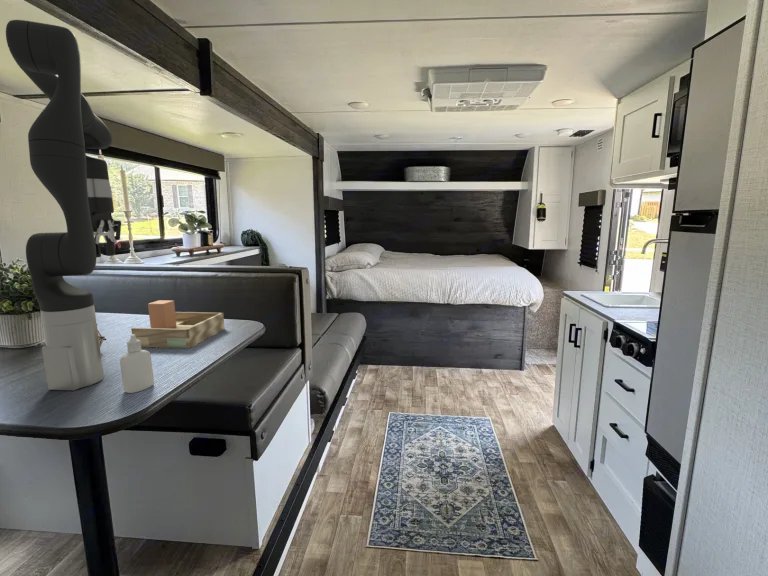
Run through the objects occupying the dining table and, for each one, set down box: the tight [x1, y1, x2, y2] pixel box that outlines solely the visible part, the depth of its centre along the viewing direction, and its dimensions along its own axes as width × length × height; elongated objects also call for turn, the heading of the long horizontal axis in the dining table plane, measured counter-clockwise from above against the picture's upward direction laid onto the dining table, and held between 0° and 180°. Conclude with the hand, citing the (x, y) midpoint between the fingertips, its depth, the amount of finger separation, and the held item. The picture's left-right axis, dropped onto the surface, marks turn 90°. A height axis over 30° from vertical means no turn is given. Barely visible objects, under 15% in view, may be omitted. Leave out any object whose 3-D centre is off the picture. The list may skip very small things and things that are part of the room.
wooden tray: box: [131, 311, 225, 350], centre depth 122 cm, size 20×17×6 cm
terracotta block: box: [147, 299, 177, 329], centre depth 122 cm, size 5×5×8 cm
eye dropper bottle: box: [119, 334, 155, 394], centre depth 85 cm, size 4×6×12 cm
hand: (104, 256), depth 116 cm, fingers open, 4 cm apart
